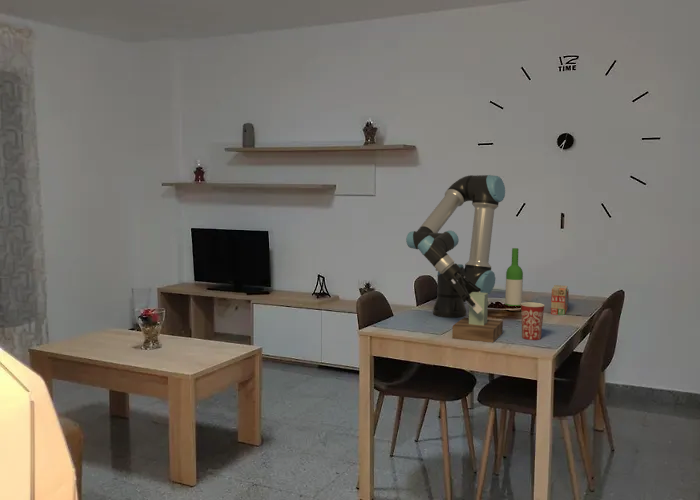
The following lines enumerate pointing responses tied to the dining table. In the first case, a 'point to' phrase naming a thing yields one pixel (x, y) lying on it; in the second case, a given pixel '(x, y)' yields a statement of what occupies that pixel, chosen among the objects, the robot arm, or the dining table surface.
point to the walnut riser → (477, 330)
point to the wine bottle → (514, 282)
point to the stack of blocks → (559, 300)
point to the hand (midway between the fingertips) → (484, 308)
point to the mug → (532, 320)
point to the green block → (482, 315)
